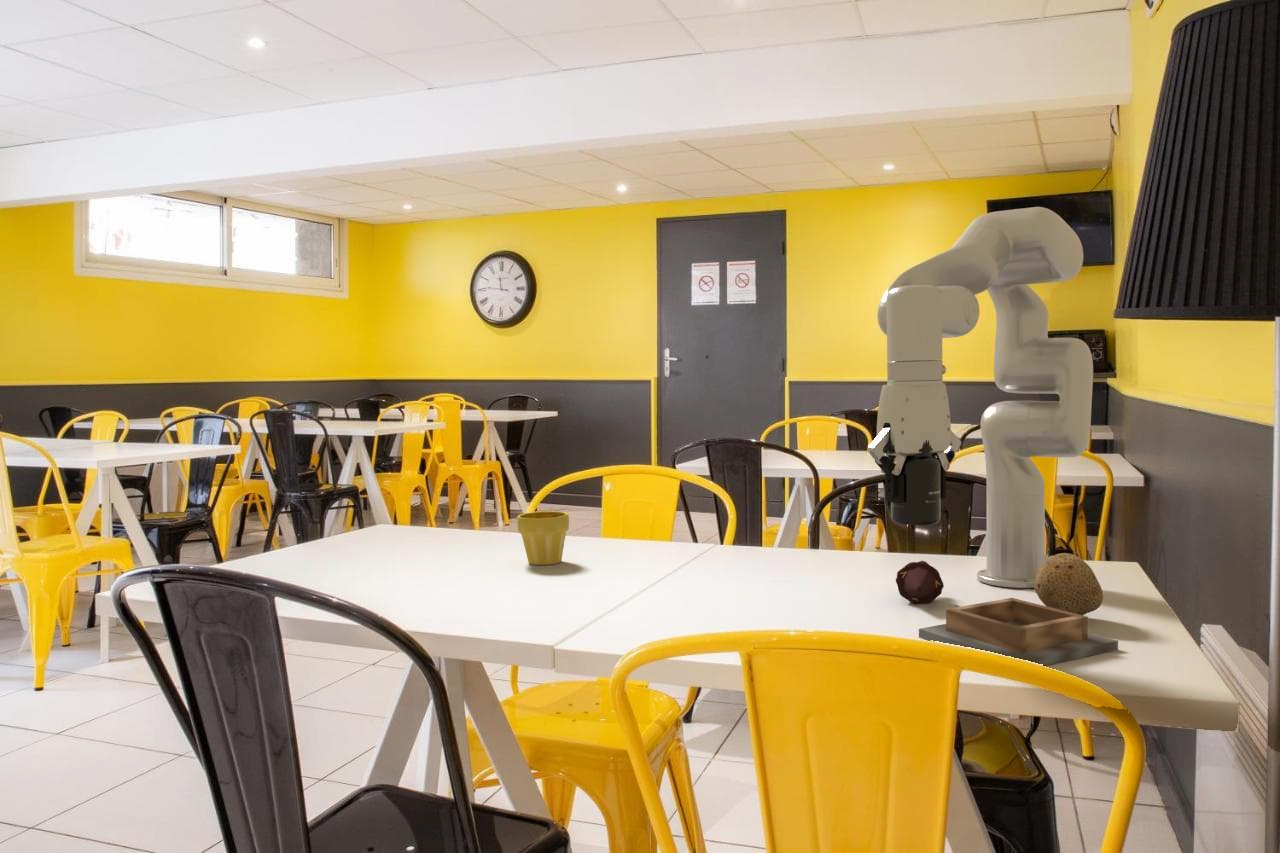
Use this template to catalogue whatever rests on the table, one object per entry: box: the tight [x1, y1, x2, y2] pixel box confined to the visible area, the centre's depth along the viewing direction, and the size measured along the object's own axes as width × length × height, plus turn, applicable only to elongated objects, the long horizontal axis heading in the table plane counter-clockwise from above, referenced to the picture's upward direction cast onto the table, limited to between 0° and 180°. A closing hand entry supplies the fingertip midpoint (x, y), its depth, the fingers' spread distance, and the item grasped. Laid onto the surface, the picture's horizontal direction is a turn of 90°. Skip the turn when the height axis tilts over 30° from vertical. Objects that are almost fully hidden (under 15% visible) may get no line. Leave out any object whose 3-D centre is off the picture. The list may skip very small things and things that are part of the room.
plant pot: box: [516, 510, 570, 566], centre depth 197 cm, size 10×10×10 cm
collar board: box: [918, 597, 1119, 666], centre depth 133 cm, size 18×18×4 cm
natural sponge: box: [1033, 552, 1104, 616], centre depth 145 cm, size 9×9×10 cm
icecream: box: [895, 560, 945, 605], centre depth 157 cm, size 7×7×15 cm
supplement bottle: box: [890, 440, 942, 526], centre depth 138 cm, size 7×7×12 cm
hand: (915, 498), depth 139 cm, fingers closed on supplement bottle, 6 cm apart
